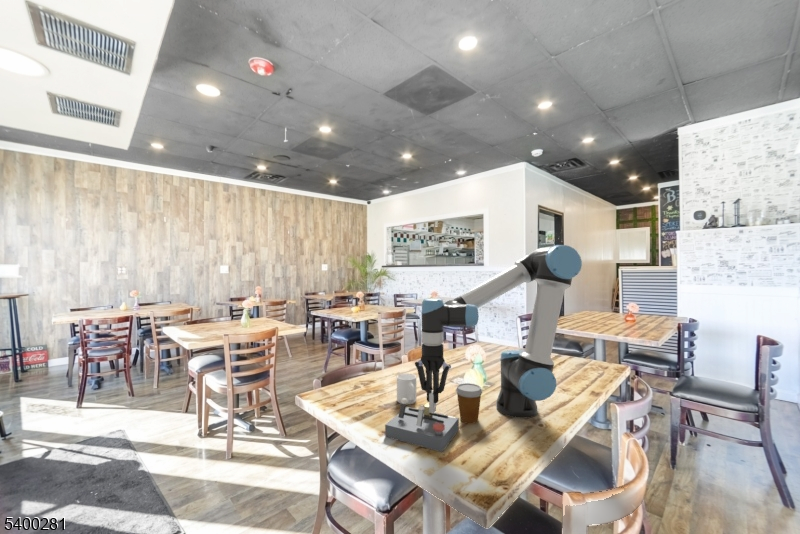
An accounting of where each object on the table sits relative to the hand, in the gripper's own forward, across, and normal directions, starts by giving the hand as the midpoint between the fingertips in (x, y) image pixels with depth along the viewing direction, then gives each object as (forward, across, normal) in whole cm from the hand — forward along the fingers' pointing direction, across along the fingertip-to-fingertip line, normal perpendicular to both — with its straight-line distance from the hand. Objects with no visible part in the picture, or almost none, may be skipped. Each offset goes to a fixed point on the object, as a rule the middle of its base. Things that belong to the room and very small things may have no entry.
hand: (432, 411), depth 116 cm
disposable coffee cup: (+6, -9, -13) cm, 17 cm away
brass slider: (+2, +2, 0) cm, 3 cm away
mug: (+6, +18, -17) cm, 25 cm away
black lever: (+2, +9, +7) cm, 12 cm away
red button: (+2, -6, +10) cm, 12 cm away
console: (+6, +2, +4) cm, 8 cm away
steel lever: (+2, +1, +10) cm, 10 cm away
